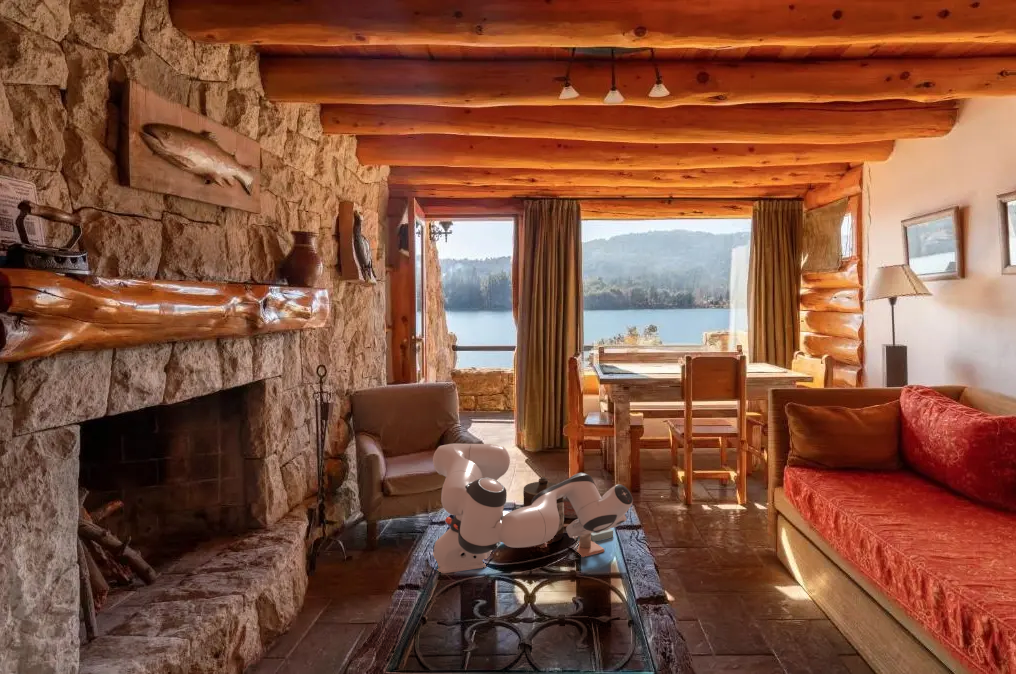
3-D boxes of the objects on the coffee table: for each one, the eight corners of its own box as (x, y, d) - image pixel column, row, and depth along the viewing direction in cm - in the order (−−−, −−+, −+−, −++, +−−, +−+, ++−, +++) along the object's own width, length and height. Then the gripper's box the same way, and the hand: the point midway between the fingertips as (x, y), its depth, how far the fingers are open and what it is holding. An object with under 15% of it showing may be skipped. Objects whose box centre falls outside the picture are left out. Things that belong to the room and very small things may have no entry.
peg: (583, 549, 209) (583, 527, 209) (577, 545, 213) (577, 523, 212) (593, 547, 211) (593, 524, 210) (586, 542, 215) (586, 520, 214)
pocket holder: (592, 542, 217) (593, 535, 217) (578, 533, 225) (578, 526, 225) (613, 537, 222) (613, 530, 221) (598, 528, 229) (598, 521, 229)
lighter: (581, 515, 242) (581, 490, 241) (581, 518, 239) (581, 493, 238) (561, 514, 243) (561, 490, 242) (561, 517, 240) (561, 493, 239)
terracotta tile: (582, 557, 206) (582, 554, 206) (568, 547, 214) (568, 544, 213) (604, 551, 210) (604, 548, 210) (589, 541, 218) (589, 539, 218)
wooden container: (537, 548, 213) (537, 487, 211) (515, 533, 226) (515, 475, 223) (571, 538, 220) (572, 479, 218) (548, 524, 233) (548, 468, 231)
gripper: (580, 531, 195) (563, 548, 205) (630, 519, 205) (612, 536, 215) (572, 513, 199) (556, 531, 209) (622, 502, 208) (605, 519, 218)
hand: (585, 533), depth 212 cm, fingers open, 8 cm apart
